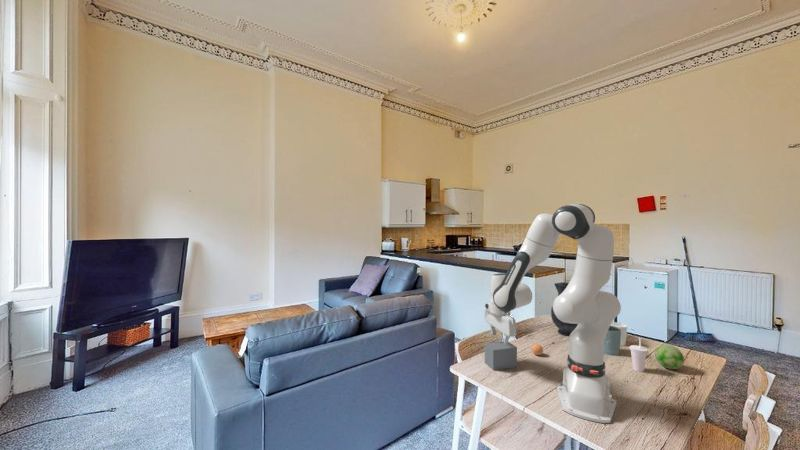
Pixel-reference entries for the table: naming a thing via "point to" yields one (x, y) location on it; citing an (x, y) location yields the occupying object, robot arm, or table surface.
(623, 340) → the white cup
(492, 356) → the gray rectangular block
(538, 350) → the ball
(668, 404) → the table surface
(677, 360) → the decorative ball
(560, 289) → the pitcher
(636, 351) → the smoothie
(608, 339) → the drinking glass
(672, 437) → the table surface
